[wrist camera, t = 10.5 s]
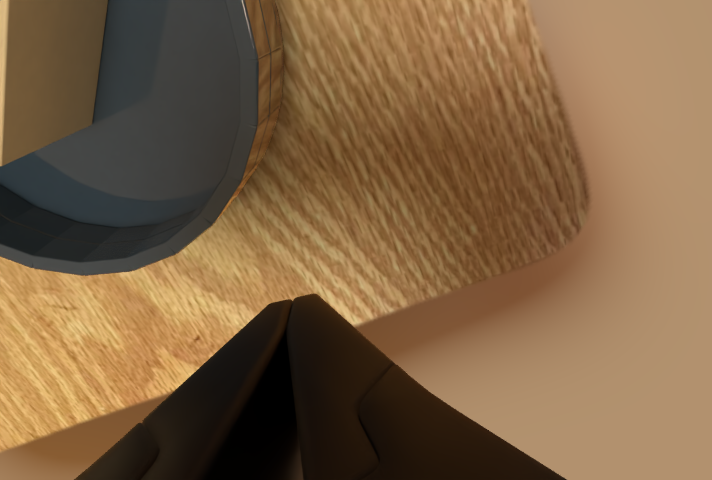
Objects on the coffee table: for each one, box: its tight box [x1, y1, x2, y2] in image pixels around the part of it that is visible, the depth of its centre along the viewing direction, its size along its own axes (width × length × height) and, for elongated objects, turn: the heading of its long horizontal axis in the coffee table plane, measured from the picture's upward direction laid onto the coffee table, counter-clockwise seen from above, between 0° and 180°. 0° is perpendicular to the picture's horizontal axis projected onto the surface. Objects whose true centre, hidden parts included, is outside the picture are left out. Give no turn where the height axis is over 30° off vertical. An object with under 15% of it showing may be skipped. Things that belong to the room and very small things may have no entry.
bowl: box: [0, 0, 284, 276], centre depth 18 cm, size 15×15×4 cm
